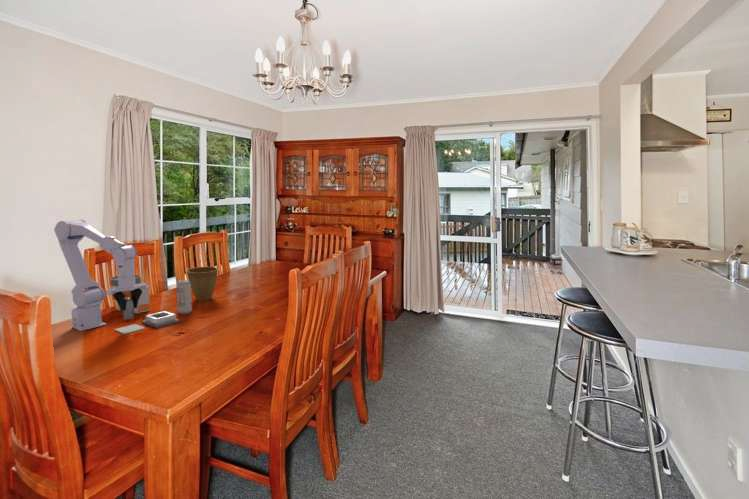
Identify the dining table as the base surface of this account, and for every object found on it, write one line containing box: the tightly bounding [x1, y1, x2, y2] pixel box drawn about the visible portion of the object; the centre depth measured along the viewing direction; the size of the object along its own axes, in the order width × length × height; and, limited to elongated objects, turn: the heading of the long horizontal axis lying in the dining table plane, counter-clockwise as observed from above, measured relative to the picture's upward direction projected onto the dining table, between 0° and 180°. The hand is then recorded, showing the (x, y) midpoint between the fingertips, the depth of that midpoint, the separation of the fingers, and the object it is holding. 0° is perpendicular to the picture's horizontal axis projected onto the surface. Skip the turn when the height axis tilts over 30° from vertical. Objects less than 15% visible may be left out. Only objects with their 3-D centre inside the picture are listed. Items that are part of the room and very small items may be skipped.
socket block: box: [141, 310, 181, 329], centre depth 166 cm, size 10×12×3 cm
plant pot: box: [186, 266, 219, 302], centre depth 203 cm, size 15×15×16 cm
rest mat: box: [114, 323, 146, 335], centre depth 157 cm, size 8×8×1 cm
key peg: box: [122, 297, 136, 320], centre depth 156 cm, size 4×4×8 cm
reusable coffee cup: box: [109, 274, 142, 312], centre depth 184 cm, size 13×12×15 cm
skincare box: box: [134, 285, 151, 314], centre depth 180 cm, size 6×4×12 cm
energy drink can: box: [175, 279, 193, 315], centre depth 179 cm, size 6×6×15 cm
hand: (128, 308), depth 155 cm, fingers closed on key peg, 4 cm apart
